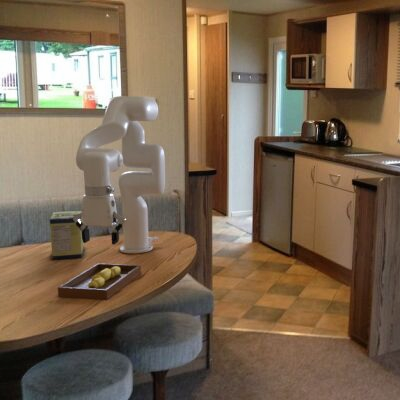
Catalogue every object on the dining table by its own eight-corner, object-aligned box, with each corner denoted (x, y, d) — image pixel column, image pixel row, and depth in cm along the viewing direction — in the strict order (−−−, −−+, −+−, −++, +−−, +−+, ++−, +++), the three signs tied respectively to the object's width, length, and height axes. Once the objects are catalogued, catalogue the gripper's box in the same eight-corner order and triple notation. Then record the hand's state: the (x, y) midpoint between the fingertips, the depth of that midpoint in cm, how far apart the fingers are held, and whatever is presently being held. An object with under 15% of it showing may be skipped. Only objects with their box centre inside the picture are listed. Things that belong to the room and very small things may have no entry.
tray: (98, 271, 197) (97, 263, 196) (141, 273, 195) (140, 265, 195) (58, 296, 172) (57, 287, 171) (107, 299, 170) (106, 290, 170)
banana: (109, 270, 193) (112, 261, 192) (121, 275, 193) (123, 265, 192) (80, 290, 174) (83, 279, 173) (93, 294, 174) (96, 284, 173)
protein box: (84, 247, 226) (82, 209, 223) (82, 258, 212) (80, 218, 209) (55, 249, 222) (53, 211, 219) (52, 260, 208) (49, 219, 205)
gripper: (129, 189, 181) (131, 240, 184) (77, 187, 182) (81, 238, 186) (118, 194, 174) (121, 247, 177) (65, 192, 175) (69, 244, 178)
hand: (100, 242), depth 181 cm, fingers open, 9 cm apart
